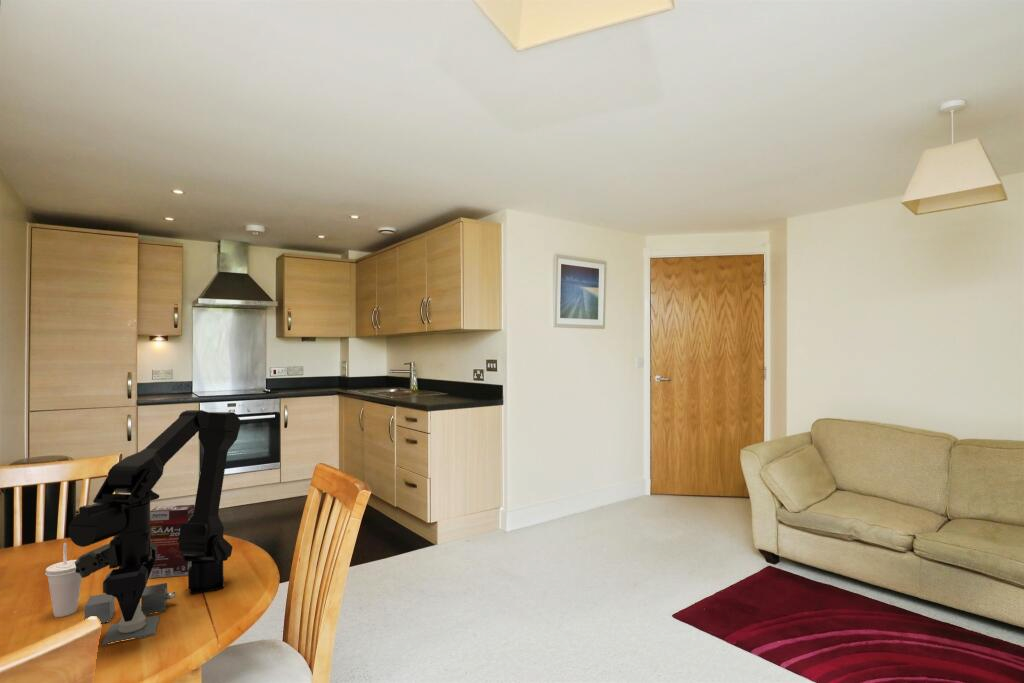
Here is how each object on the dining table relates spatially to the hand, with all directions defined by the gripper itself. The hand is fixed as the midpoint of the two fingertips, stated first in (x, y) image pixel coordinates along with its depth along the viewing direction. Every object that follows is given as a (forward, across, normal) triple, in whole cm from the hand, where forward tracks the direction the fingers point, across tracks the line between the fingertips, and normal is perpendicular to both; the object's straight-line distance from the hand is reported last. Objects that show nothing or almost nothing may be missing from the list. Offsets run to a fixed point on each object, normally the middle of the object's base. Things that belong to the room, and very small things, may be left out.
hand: (132, 610), depth 104 cm
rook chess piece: (+4, 0, 0) cm, 4 cm away
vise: (+4, -9, -2) cm, 10 cm away
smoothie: (+4, -16, -14) cm, 21 cm away
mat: (+4, 0, 0) cm, 4 cm away
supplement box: (+4, -29, +4) cm, 30 cm away
